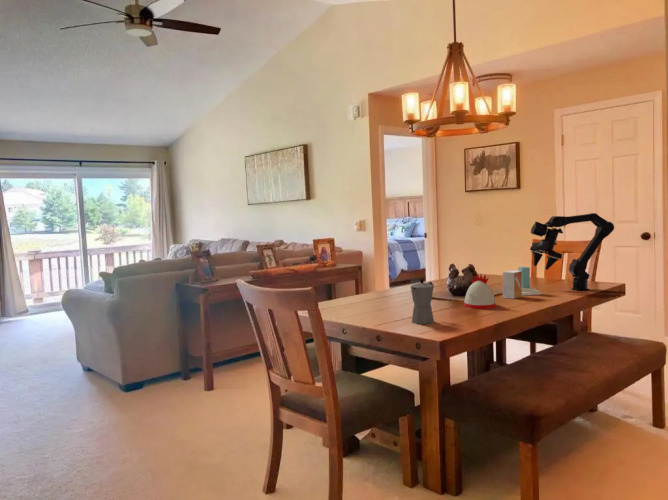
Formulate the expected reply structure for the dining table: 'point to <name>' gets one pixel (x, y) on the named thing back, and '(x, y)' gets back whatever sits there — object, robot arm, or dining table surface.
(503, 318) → the dining table surface
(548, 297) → the dining table surface
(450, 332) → the dining table surface
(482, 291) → the kitchen timer
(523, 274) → the pillar
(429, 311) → the coffeepot
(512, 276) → the small box
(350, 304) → the dining table surface
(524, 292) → the plinth
